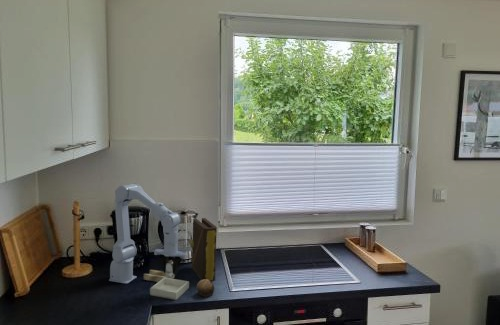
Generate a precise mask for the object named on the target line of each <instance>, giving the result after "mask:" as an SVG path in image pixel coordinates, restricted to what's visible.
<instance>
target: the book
mask: <svg viewBox="0 0 500 325" xmlns="http://www.w3.org/2000/svg"><path fill="white" fill-rule="evenodd" d="M217 228H218V226H216V224H213V223H212V222H211V221H210V220H208V219H207V218H205V217H201V221H200V220H198V219H197V218H193V219H192V239H191V240H190V242H189V245H190V247H191V249H192V250H191V269H192V270H193V271H194V273H195V274H196V275H197V277H198V278H199V279H200V280H203V279H208V280H210V281H211V282H212V283H213V282H215V281H216V264H217V263H216V262H217V260H216V259H217V234H218V233H217V232H218V230H217Z"/></svg>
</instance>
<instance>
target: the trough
mask: <svg viewBox="0 0 500 325" xmlns="http://www.w3.org/2000/svg"><path fill="white" fill-rule="evenodd" d="M163 278H166V277H165V273H164V272H163V270H156V269H149V273H143V280H144V281H145V280H146V281H150V282H156V283H158V282H159V281H160V280H162V279H163ZM170 279H174V278H170Z"/></svg>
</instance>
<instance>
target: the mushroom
mask: <svg viewBox="0 0 500 325" xmlns="http://www.w3.org/2000/svg"><path fill="white" fill-rule="evenodd" d="M196 291H197V292H198V294H199V295H200V296H203V297H210V296H211V295H213V294H214V292H215V285H214V284H213V281H212V282H211V281H210V280H208V279H203V280H201V279H200V280H199V281H198V282H197V284H196Z"/></svg>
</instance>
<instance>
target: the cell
mask: <svg viewBox="0 0 500 325" xmlns="http://www.w3.org/2000/svg"><path fill="white" fill-rule="evenodd" d="M165 277H166V278H173V279H175V277H176V274H173V261H172V259H168V261H166V270H165Z"/></svg>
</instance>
